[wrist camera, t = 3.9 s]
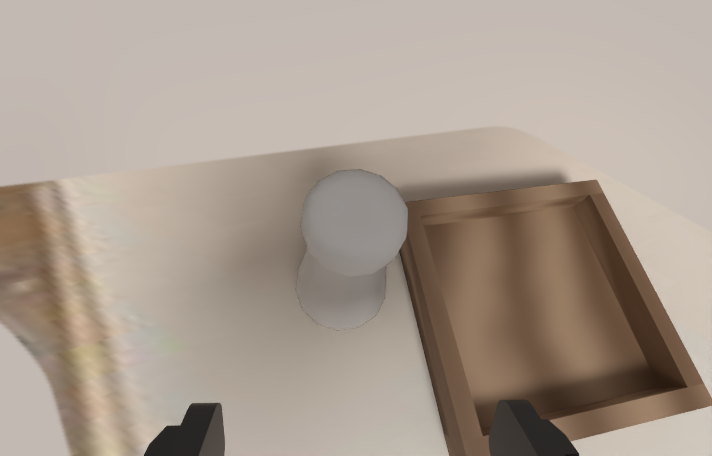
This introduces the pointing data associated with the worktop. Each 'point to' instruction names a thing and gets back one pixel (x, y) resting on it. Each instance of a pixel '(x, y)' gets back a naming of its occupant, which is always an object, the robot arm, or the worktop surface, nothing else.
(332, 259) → the salt shaker
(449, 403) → the walnut tray
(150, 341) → the worktop surface
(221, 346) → the worktop surface
